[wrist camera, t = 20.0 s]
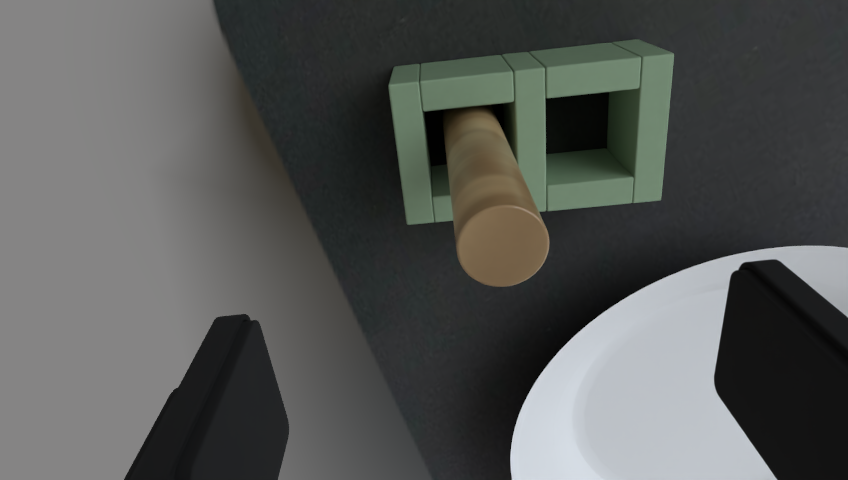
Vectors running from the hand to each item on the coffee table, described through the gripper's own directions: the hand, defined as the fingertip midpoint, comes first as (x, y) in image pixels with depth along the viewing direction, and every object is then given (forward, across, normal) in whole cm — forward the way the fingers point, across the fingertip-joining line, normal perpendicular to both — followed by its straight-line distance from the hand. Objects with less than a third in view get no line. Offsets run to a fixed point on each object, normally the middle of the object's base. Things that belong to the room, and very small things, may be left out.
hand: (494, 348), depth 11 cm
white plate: (+16, -14, +19) cm, 29 cm away
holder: (+17, -3, 0) cm, 17 cm away
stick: (+17, -1, 0) cm, 17 cm away
